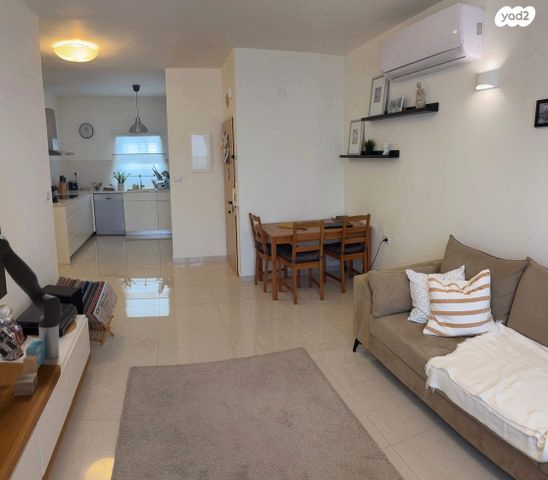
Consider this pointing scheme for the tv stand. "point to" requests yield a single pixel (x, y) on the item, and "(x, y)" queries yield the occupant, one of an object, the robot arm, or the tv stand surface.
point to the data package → (36, 351)
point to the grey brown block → (25, 384)
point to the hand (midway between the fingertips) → (11, 351)
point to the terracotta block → (30, 365)
